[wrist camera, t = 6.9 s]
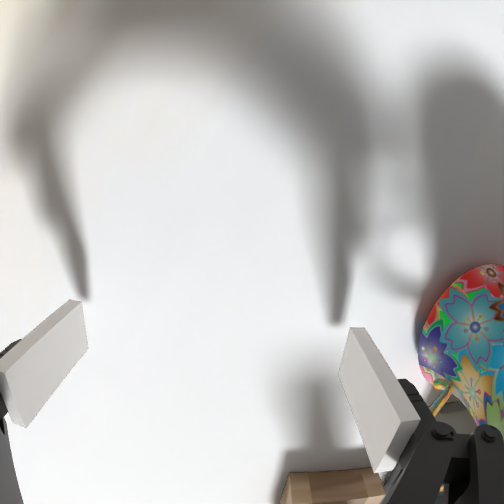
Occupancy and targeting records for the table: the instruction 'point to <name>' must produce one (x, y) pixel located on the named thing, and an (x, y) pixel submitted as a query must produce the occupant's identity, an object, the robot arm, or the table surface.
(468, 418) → the tray
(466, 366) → the mug
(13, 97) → the table surface
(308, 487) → the socket
